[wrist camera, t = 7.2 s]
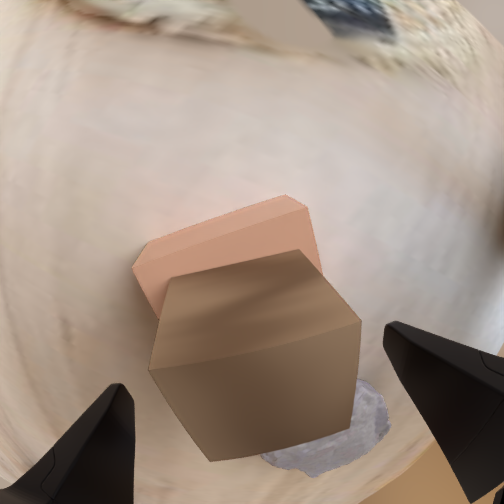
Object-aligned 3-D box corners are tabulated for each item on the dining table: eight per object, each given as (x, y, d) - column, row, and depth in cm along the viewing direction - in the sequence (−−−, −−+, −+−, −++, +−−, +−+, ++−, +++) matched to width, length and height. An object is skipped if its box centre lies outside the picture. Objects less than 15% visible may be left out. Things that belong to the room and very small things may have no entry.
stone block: (335, 345, 19) (236, 425, 18) (375, 379, 15) (257, 471, 14) (376, 398, 24) (305, 457, 23) (404, 424, 19) (325, 487, 19)
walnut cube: (298, 248, 10) (361, 320, 6) (309, 346, 12) (349, 428, 8) (170, 277, 10) (148, 369, 6) (205, 370, 12) (209, 462, 7)
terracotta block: (283, 193, 13) (307, 206, 10) (312, 308, 16) (335, 344, 13) (149, 240, 13) (131, 267, 10) (201, 345, 16) (201, 388, 12)
